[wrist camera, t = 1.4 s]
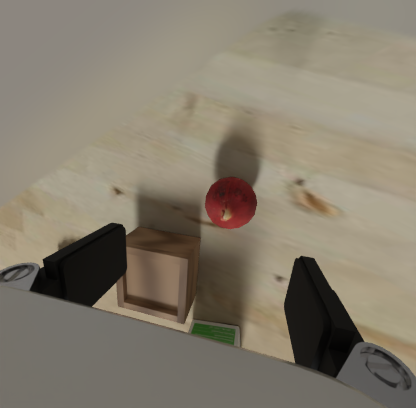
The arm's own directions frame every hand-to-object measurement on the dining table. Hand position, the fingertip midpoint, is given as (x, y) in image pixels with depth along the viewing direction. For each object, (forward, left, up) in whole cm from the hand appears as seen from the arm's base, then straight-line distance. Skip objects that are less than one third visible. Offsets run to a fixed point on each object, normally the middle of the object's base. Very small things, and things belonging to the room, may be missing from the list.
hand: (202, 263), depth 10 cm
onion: (0, 0, -16) cm, 16 cm away
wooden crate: (+9, +12, -16) cm, 22 cm away
